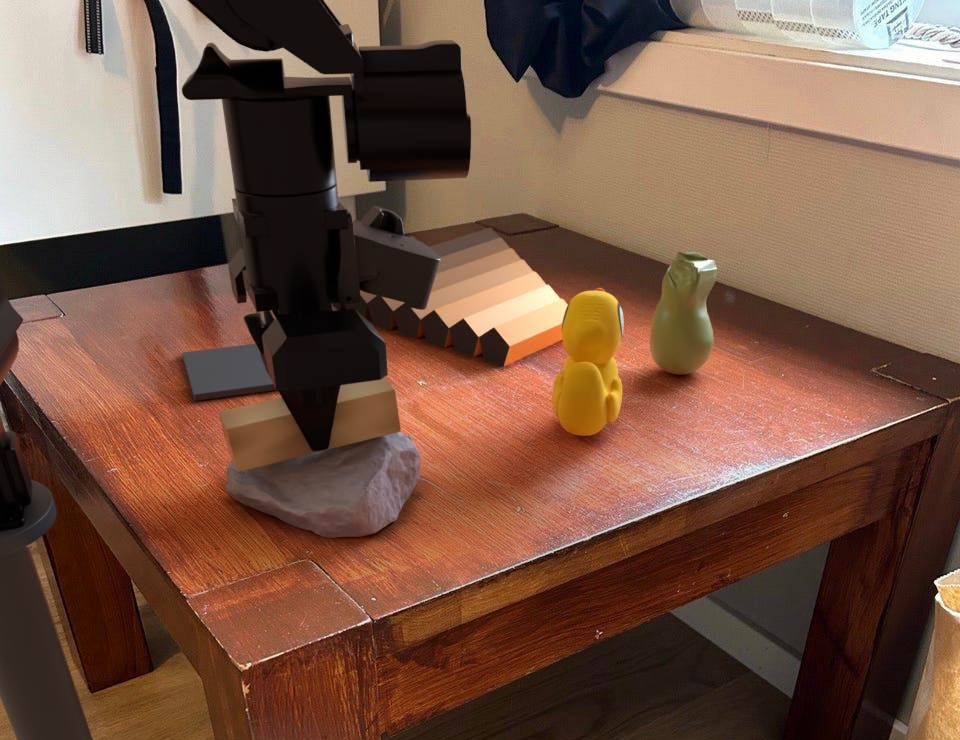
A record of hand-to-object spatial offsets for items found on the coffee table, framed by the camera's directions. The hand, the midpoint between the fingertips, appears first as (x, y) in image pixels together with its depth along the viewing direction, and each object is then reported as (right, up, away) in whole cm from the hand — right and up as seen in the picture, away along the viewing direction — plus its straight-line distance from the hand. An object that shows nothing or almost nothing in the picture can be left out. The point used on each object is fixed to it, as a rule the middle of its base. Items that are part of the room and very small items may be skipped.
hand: (314, 438), depth 64 cm
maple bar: (0, 0, 0) cm, 0 cm away
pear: (+28, +10, +21) cm, 36 cm away
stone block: (0, -4, +3) cm, 5 cm away
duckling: (+19, +3, +13) cm, 23 cm away
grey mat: (-8, +10, +22) cm, 25 cm away
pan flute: (+12, +20, +36) cm, 43 cm away
